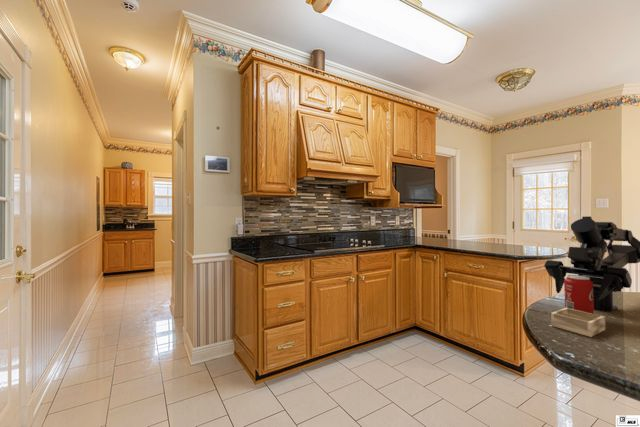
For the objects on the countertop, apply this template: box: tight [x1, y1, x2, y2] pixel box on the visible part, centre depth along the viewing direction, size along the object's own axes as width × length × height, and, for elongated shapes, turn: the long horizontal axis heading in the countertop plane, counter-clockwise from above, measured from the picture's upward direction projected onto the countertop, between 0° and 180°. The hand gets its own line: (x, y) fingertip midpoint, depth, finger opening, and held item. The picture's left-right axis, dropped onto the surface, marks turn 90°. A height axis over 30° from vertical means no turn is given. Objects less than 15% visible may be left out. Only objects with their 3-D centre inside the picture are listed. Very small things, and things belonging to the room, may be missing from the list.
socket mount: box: [550, 307, 606, 338], centre depth 78 cm, size 8×8×4 cm
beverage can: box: [563, 274, 595, 314], centre depth 84 cm, size 6×6×12 cm
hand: (576, 295), depth 84 cm, fingers open, 9 cm apart
